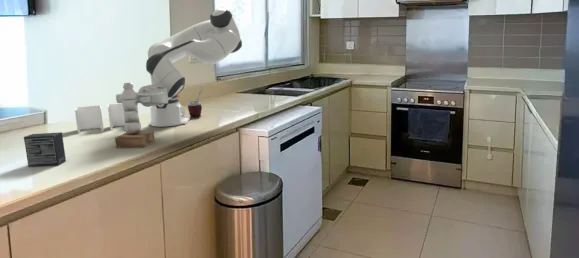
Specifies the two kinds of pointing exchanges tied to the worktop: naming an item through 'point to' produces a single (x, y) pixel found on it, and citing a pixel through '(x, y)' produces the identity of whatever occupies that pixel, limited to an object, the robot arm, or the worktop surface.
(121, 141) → the plinth
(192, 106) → the mate gourd
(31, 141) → the small box
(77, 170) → the worktop surface
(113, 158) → the worktop surface
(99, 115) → the pair of white bookends
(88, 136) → the worktop surface
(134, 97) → the plastic bottle
